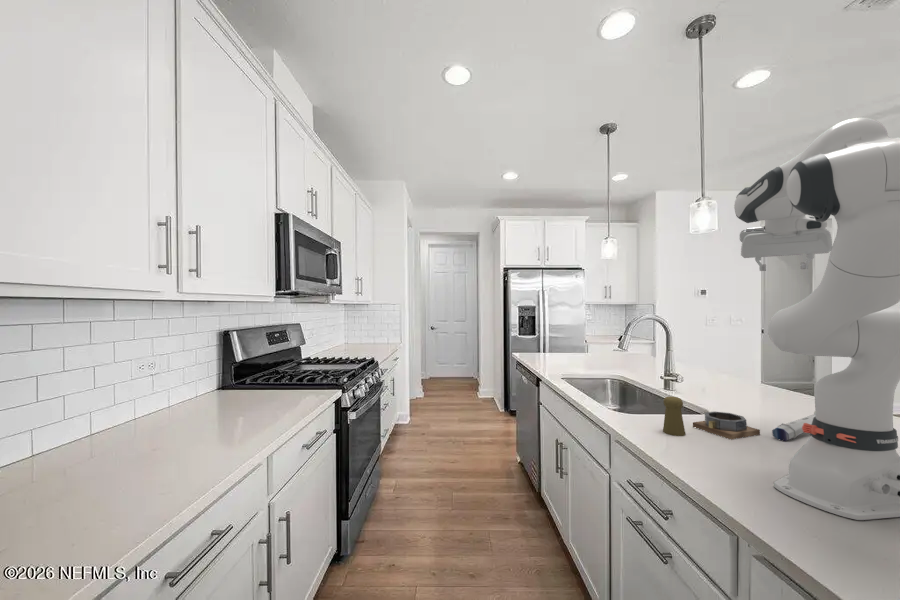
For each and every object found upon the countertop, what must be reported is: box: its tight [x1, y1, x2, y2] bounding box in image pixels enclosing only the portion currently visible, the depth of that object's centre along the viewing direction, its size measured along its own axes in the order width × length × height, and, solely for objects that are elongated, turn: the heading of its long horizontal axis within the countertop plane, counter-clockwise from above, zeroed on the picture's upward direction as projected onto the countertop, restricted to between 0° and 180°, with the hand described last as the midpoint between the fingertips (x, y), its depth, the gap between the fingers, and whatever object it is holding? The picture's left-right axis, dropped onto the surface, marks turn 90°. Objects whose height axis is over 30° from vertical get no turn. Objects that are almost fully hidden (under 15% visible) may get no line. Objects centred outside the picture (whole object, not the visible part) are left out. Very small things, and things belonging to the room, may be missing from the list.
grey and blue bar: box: [771, 411, 816, 442], centre depth 111 cm, size 5×7×25 cm
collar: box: [704, 411, 748, 432], centre depth 115 cm, size 11×10×3 cm
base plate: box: [692, 420, 761, 440], centre depth 115 cm, size 12×12×2 cm
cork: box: [662, 395, 686, 437], centre depth 114 cm, size 6×6×11 cm
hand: (782, 269), depth 112 cm, fingers open, 8 cm apart
